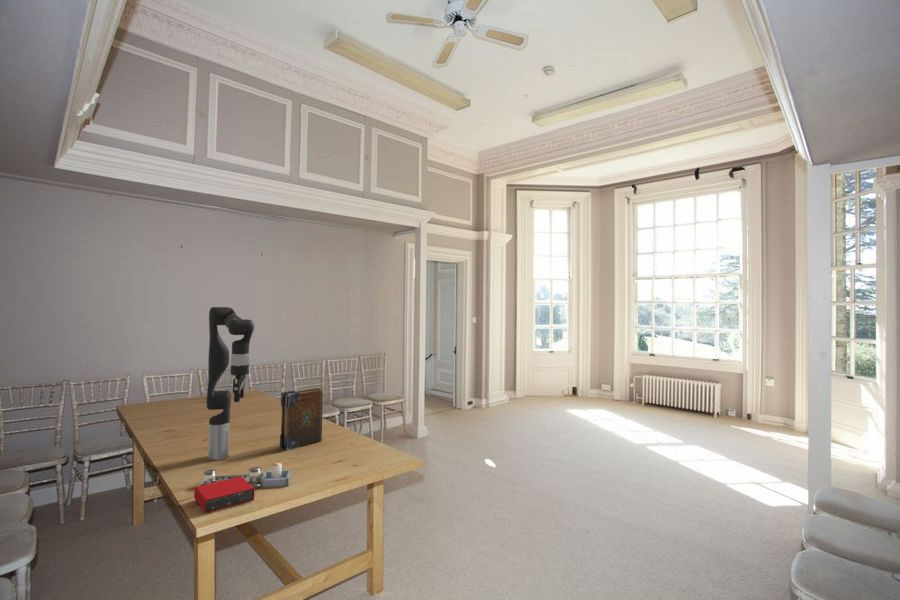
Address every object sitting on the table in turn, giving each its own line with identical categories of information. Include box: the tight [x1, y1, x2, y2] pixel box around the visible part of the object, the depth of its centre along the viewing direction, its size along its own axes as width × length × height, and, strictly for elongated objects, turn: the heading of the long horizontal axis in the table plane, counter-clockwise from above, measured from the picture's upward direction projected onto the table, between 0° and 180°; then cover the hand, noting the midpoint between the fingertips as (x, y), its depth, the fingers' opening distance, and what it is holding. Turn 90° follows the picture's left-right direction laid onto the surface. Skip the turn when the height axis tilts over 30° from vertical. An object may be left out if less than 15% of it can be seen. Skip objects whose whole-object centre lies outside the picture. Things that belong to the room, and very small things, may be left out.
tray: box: [260, 469, 292, 489], centre depth 195 cm, size 11×11×3 cm
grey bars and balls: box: [196, 466, 264, 489], centre depth 191 cm, size 19×26×6 cm
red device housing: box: [193, 476, 256, 514], centre depth 176 cm, size 18×14×5 cm
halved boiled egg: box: [270, 461, 283, 479], centre depth 195 cm, size 4×4×7 cm
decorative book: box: [279, 387, 324, 452], centre depth 249 cm, size 23×7×30 cm, turn 143°
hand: (238, 399), depth 201 cm, fingers open, 8 cm apart
